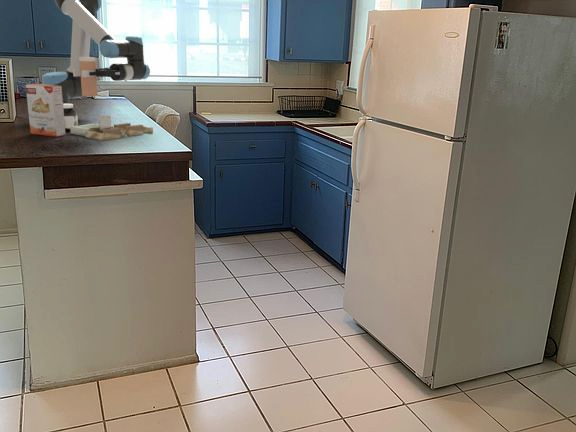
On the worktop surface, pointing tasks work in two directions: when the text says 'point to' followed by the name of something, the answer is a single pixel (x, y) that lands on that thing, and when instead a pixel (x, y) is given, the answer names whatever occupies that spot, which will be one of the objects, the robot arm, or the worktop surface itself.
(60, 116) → the cracker box
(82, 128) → the tray
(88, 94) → the lidded box
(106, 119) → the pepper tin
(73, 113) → the spread jar
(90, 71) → the robot arm
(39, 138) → the worktop surface
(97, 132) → the wooden blocks
